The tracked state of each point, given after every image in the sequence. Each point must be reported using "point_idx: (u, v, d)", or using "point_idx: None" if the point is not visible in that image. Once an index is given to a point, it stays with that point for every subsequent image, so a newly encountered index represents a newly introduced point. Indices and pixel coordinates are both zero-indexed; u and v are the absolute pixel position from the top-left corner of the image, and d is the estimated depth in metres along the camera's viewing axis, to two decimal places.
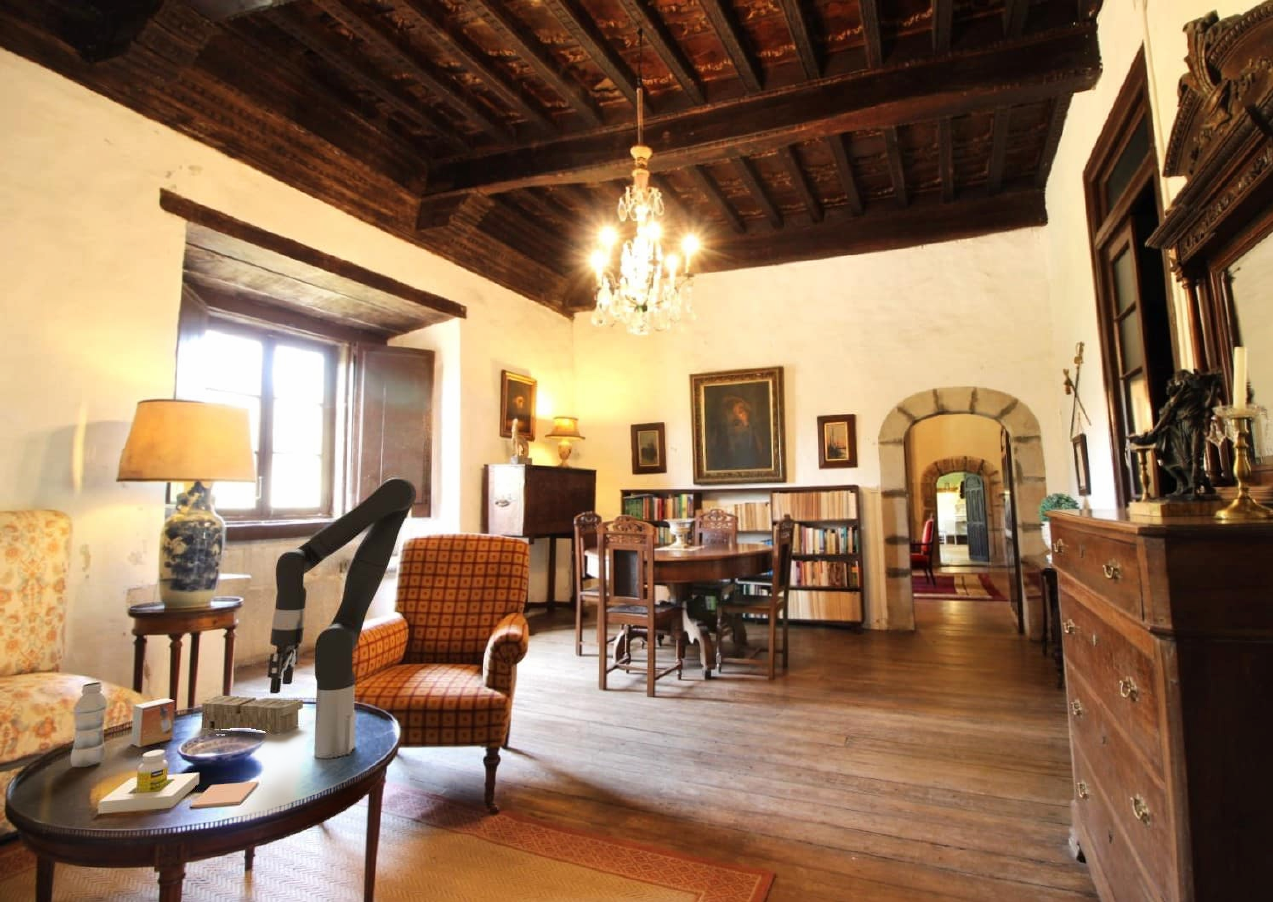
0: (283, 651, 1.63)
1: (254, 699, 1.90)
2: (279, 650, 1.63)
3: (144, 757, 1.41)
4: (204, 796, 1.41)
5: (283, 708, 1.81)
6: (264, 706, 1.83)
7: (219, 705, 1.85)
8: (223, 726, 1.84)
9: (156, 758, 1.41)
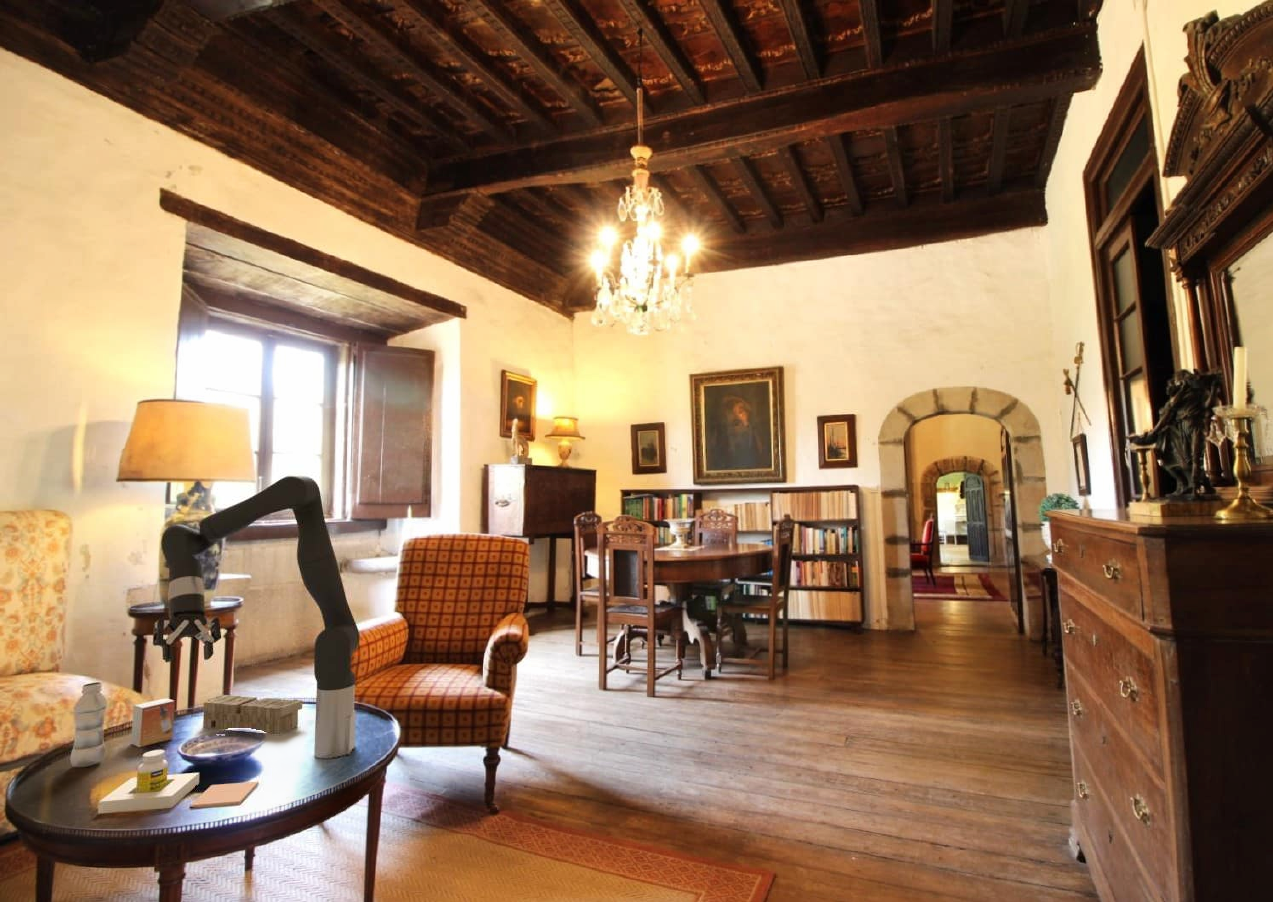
0: (171, 618, 1.57)
1: (255, 699, 1.90)
2: (170, 619, 1.57)
3: (144, 757, 1.41)
4: (204, 796, 1.41)
5: (282, 708, 1.80)
6: (263, 706, 1.82)
7: (220, 705, 1.85)
8: (223, 726, 1.84)
9: (156, 758, 1.41)
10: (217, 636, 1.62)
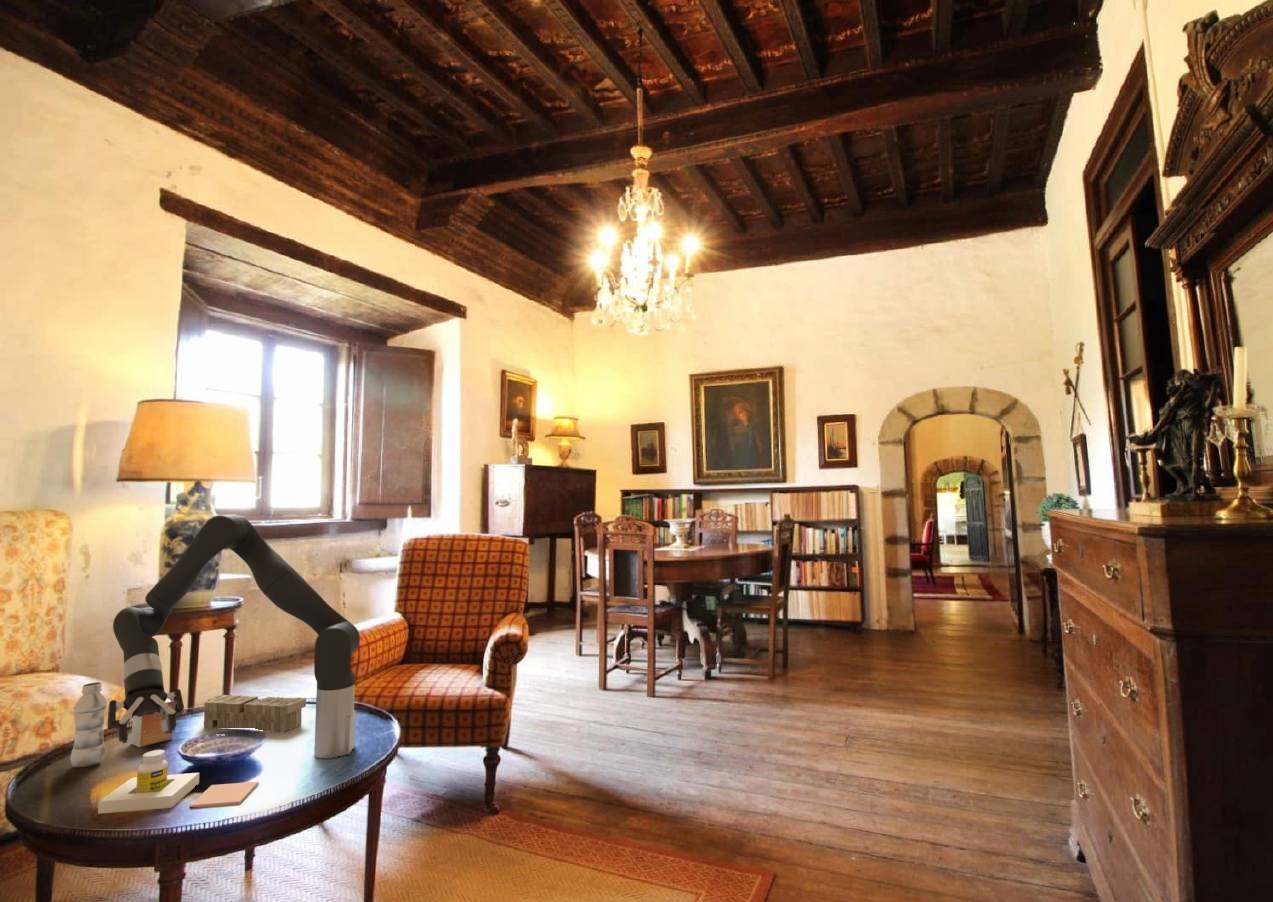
0: (125, 699, 1.50)
1: (256, 698, 1.91)
2: None
3: (144, 757, 1.41)
4: (204, 796, 1.41)
5: (287, 706, 1.82)
6: (268, 705, 1.84)
7: (222, 704, 1.86)
8: (225, 725, 1.85)
9: (156, 758, 1.41)
10: (179, 707, 1.54)
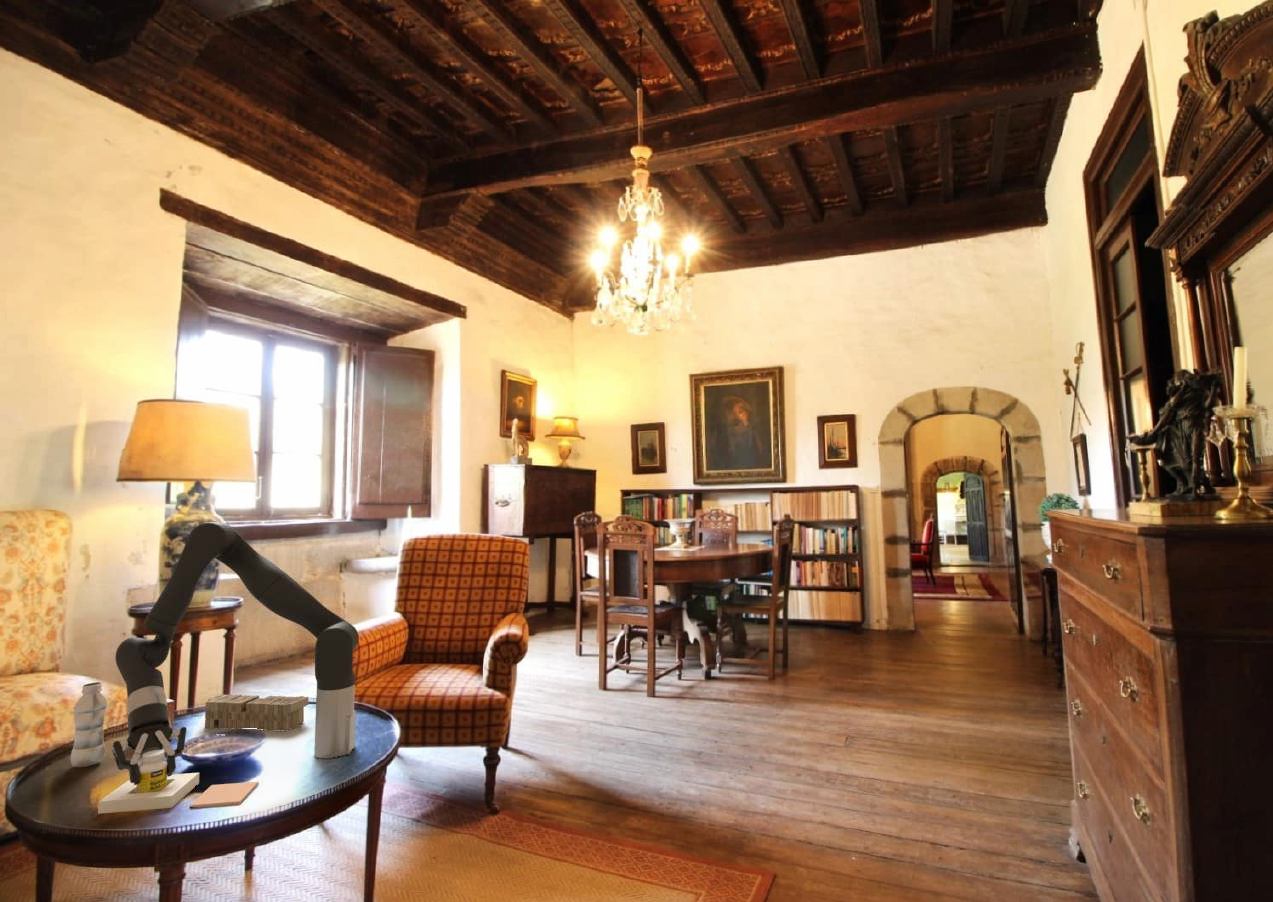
0: (128, 737, 1.44)
1: (258, 697, 1.92)
2: None
3: (144, 757, 1.41)
4: (204, 796, 1.41)
5: (291, 705, 1.84)
6: (271, 703, 1.85)
7: (223, 703, 1.86)
8: (227, 724, 1.85)
9: (156, 758, 1.41)
10: (179, 747, 1.47)
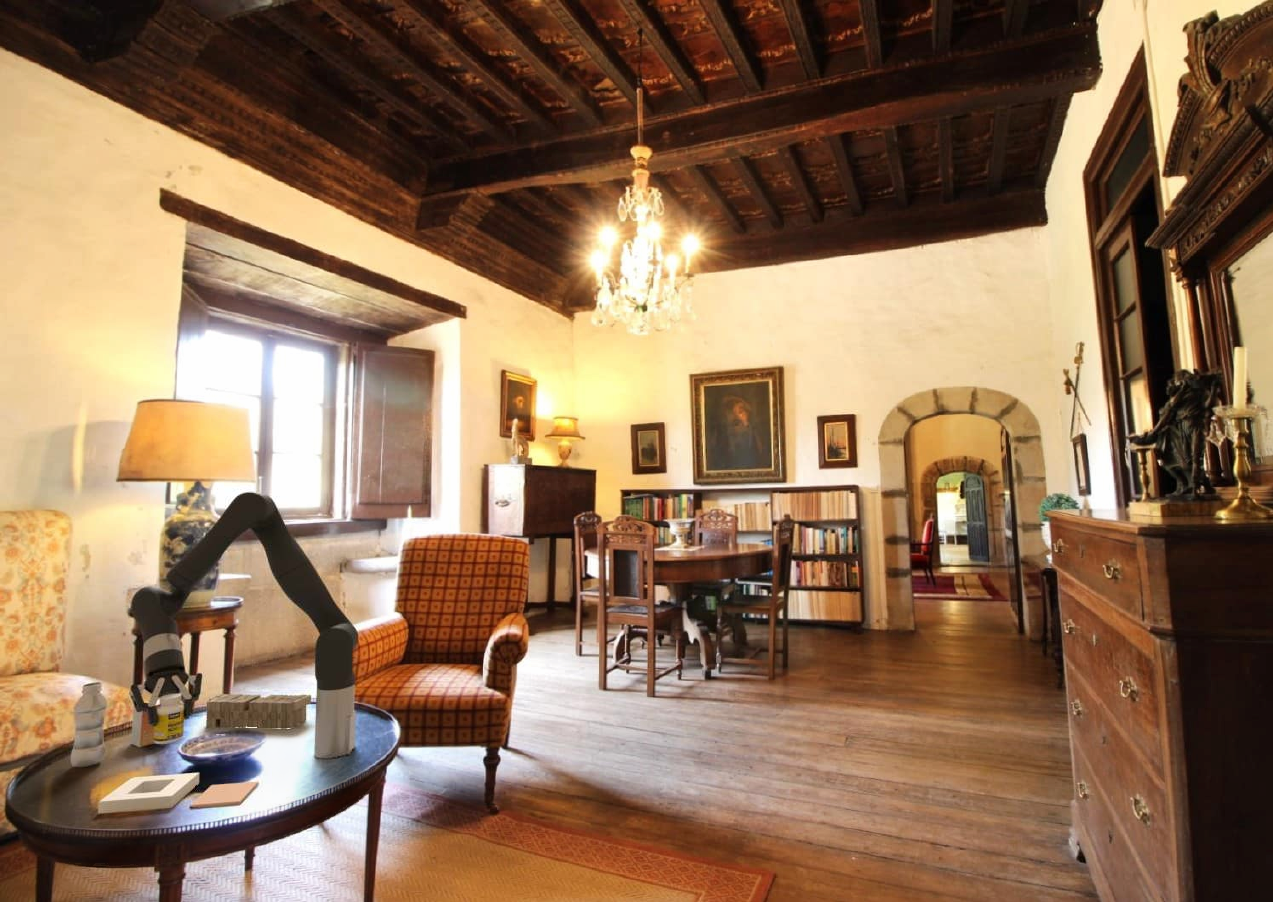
0: (145, 681, 1.45)
1: (259, 696, 1.93)
2: None
3: (161, 699, 1.42)
4: (204, 796, 1.41)
5: (295, 703, 1.85)
6: (274, 702, 1.86)
7: (225, 703, 1.87)
8: (230, 724, 1.86)
9: (173, 700, 1.43)
10: (195, 692, 1.48)
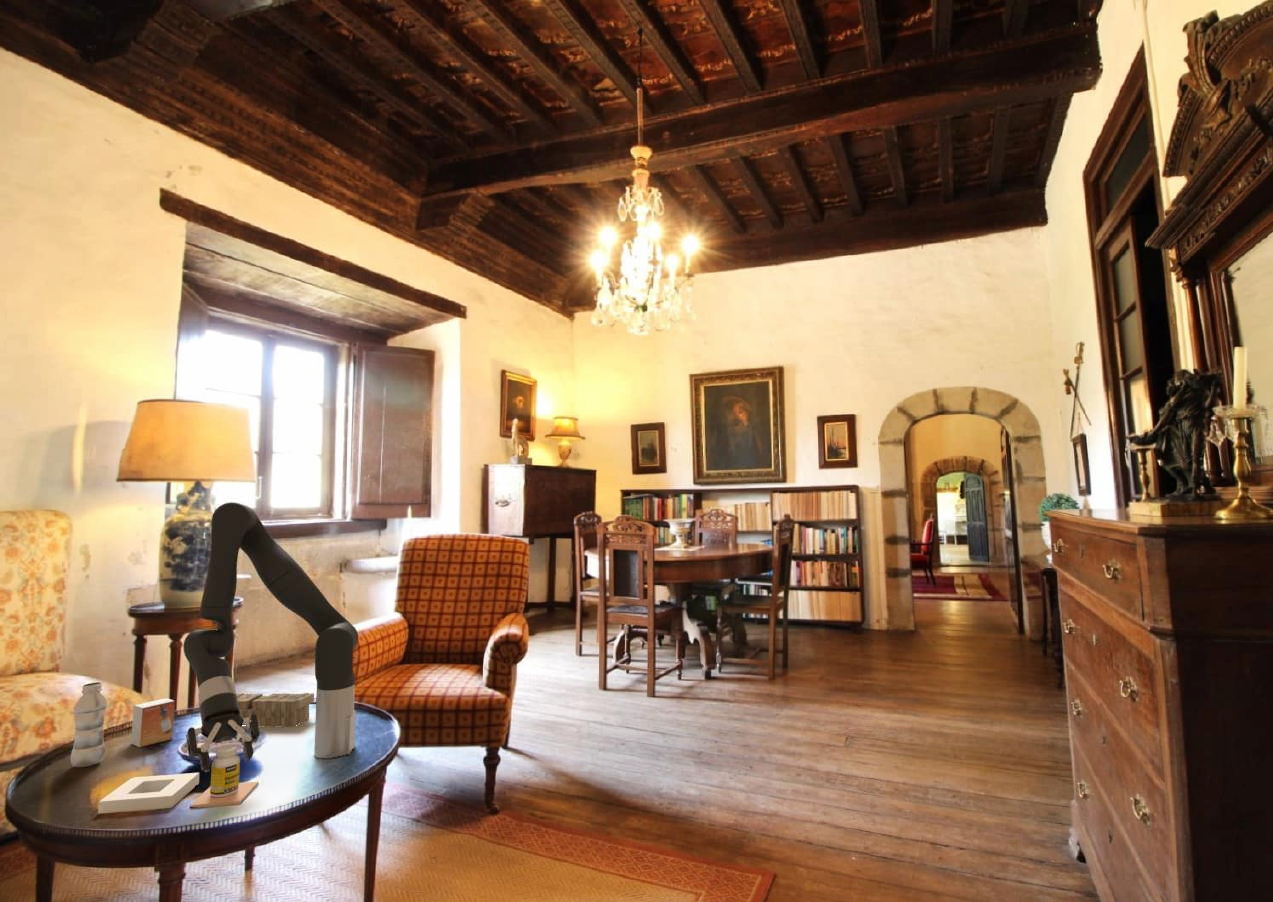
0: (202, 725, 1.45)
1: (261, 695, 1.94)
2: (202, 726, 1.46)
3: (218, 752, 1.42)
4: (204, 796, 1.41)
5: (299, 701, 1.87)
6: (278, 700, 1.88)
7: None
8: None
9: (230, 753, 1.42)
10: (255, 734, 1.49)
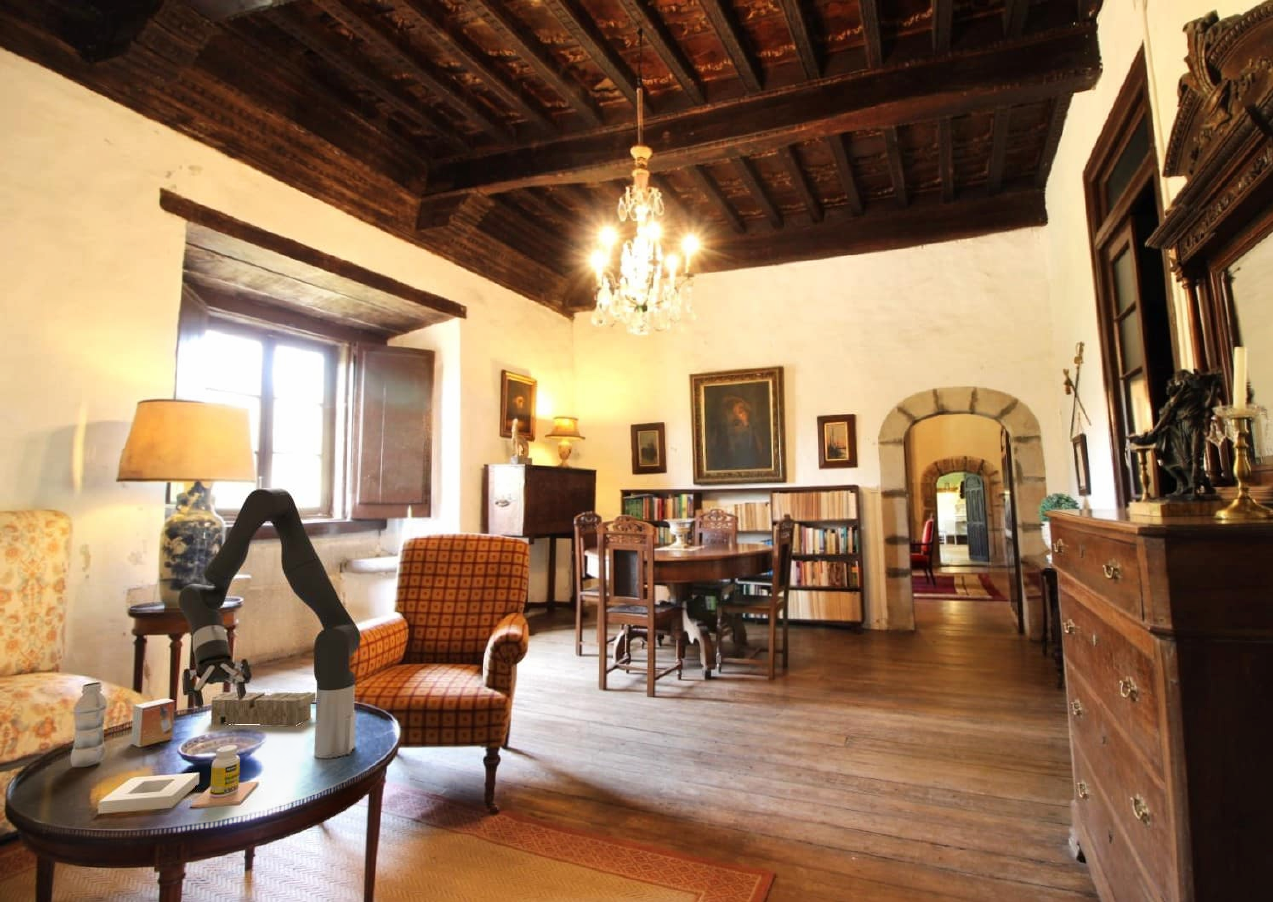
0: (197, 667, 1.58)
1: (263, 694, 1.95)
2: None
3: (218, 752, 1.42)
4: (204, 796, 1.41)
5: (300, 700, 1.88)
6: (279, 699, 1.89)
7: (230, 701, 1.89)
8: (235, 721, 1.88)
9: (229, 753, 1.42)
10: (247, 675, 1.62)
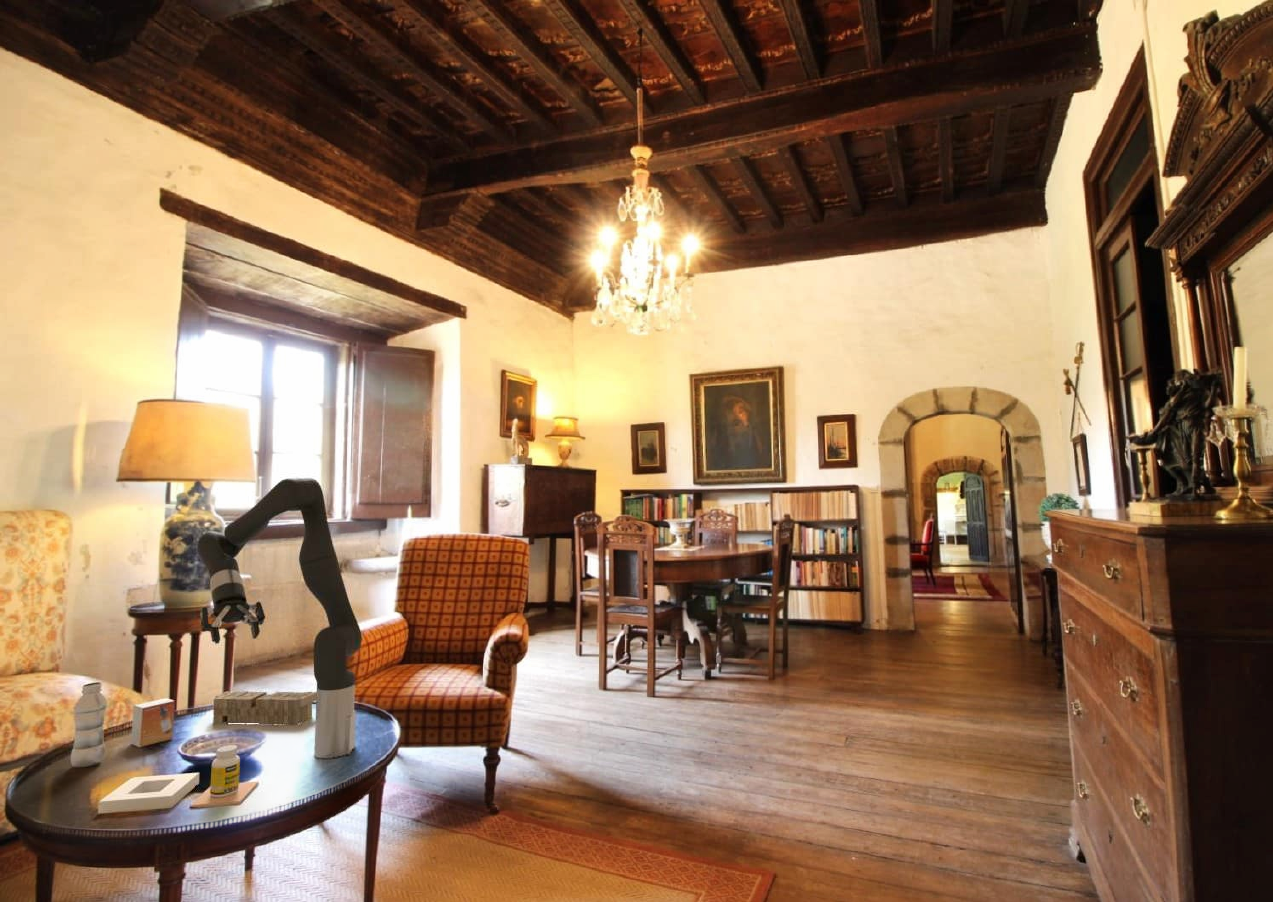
0: (214, 607, 1.67)
1: (265, 693, 1.96)
2: None
3: (218, 752, 1.42)
4: (204, 796, 1.41)
5: (301, 700, 1.88)
6: (281, 699, 1.89)
7: (232, 700, 1.90)
8: (236, 720, 1.89)
9: (230, 753, 1.42)
10: (261, 616, 1.71)
